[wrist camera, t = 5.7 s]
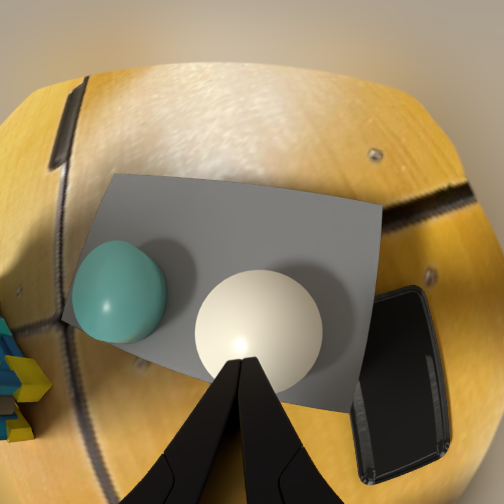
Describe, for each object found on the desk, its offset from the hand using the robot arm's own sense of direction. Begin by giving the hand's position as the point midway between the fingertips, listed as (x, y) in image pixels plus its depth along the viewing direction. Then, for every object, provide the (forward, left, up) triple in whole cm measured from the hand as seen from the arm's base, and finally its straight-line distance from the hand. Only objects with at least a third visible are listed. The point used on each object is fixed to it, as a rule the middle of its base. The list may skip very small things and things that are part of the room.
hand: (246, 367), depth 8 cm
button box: (+4, +5, -13) cm, 14 cm away
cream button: (+1, +1, -9) cm, 9 cm away
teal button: (+1, +9, -9) cm, 12 cm away
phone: (-1, -9, -14) cm, 17 cm away
